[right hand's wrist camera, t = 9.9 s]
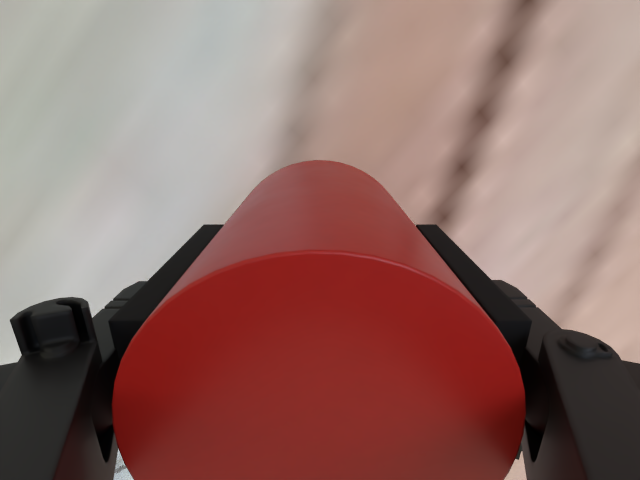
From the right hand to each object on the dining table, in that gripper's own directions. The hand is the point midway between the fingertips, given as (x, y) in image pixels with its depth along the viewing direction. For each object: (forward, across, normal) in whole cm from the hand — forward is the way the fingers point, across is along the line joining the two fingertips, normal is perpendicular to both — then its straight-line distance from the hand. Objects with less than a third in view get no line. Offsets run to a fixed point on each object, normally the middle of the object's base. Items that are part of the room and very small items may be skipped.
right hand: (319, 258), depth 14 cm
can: (+1, 0, 0) cm, 1 cm away
